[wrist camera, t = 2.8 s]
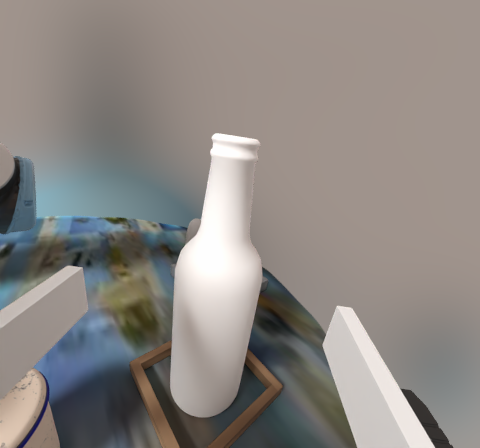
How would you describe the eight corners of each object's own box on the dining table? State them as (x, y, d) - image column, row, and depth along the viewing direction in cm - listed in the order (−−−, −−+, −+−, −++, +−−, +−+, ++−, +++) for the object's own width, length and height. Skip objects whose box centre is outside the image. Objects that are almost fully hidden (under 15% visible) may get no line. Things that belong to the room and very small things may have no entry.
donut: (191, 246, 62) (193, 212, 58) (203, 247, 62) (206, 214, 58) (182, 265, 52) (184, 226, 49) (196, 267, 53) (200, 229, 49)
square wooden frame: (130, 370, 29) (129, 362, 28) (216, 322, 38) (217, 316, 37) (182, 496, 20) (183, 488, 19) (280, 393, 29) (282, 386, 28)
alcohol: (233, 349, 34) (271, 141, 23) (244, 416, 26) (311, 147, 15) (173, 353, 32) (183, 128, 21) (165, 428, 24) (176, 127, 13)
